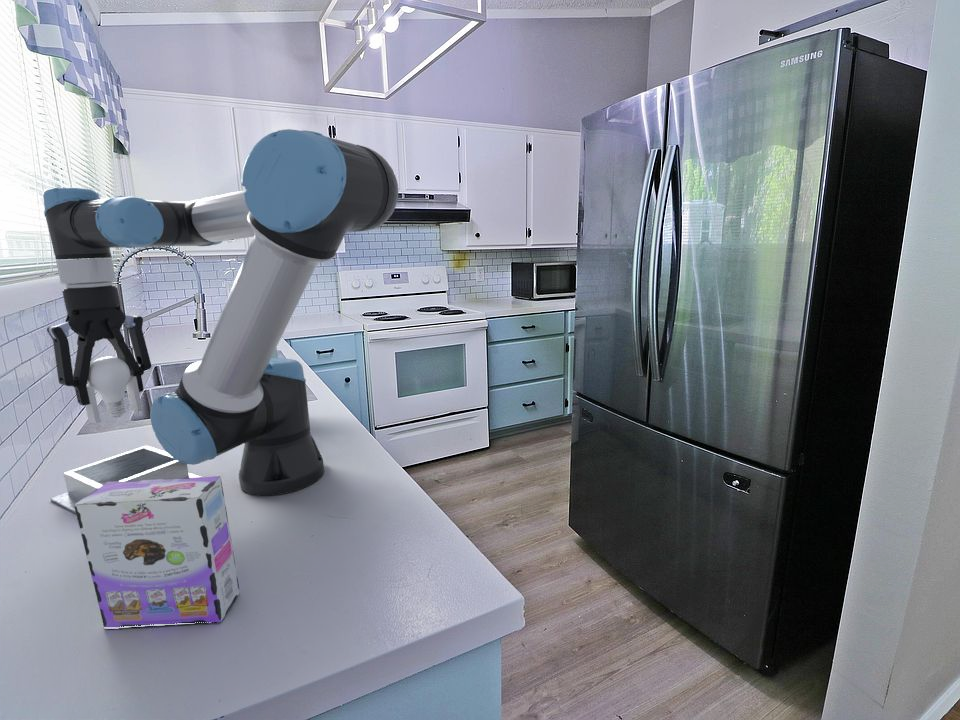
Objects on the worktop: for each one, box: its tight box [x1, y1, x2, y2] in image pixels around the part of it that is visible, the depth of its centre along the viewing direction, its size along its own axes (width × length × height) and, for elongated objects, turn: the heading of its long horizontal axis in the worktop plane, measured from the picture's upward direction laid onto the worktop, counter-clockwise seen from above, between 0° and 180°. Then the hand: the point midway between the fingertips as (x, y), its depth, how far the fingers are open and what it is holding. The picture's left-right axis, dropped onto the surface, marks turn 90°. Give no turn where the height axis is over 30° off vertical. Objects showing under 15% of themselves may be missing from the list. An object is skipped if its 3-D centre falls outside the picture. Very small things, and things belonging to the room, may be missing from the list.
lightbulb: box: [87, 355, 131, 418], centre depth 90 cm, size 6×6×11 cm
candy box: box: [74, 475, 241, 628], centre depth 61 cm, size 14×6×16 cm, turn 92°
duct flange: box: [50, 445, 201, 515], centre depth 94 cm, size 18×18×5 cm
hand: (116, 415), depth 91 cm, fingers closed on lightbulb, 6 cm apart
